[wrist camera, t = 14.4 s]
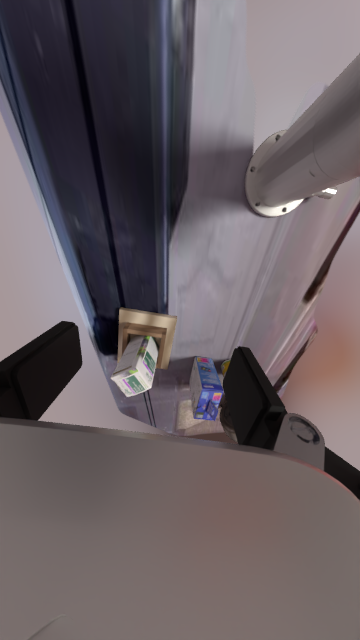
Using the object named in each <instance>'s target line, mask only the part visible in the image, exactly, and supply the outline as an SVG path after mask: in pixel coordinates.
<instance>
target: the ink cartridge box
mask: <svg viewBox="0 0 360 640" xmlns="http://www.w3.org/2000/svg"><path fill="white" fill-rule="evenodd" d="M189 383H190V392H191V401H192V409H193V417H194V419H205V420H214V421H215V419H216V416H217V413H218V406H219V403H220V400H221V397H222V394H223V389H222V386H221V383H220V380H219V377H218V374H217V372H216V369H215V366H214V363H213V361H212V359H211V358H204V357H197V356H196V357H195V359H194V363H193V368H192V372H191V376H190V381H189Z"/></svg>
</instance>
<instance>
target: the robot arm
mask: <svg viewBox="0 0 360 640" xmlns="http://www.w3.org/2000/svg"><path fill="white" fill-rule="evenodd" d="M275 139H276V140H275ZM250 170H252V172H251V171H250ZM357 177H360V54H359V55H358V56H357V57H356V58H355V59H354V60H353V61H352V62H351V63H350V64H349V65H348V67H347V68H346V69H345V70H344V71H343V72H342V73H341V74H340V75H339V76H338V77H337V78H336V79H335V80H334V81H333V82H332V83H331V85H330V86H329V87H328V88H327V89H326V90H325V91H324V92H323V93H322V94H321V95H320V96H319V97H318V98H317V99H316V100H315V101H314V103H313V104H312V105H311V106H310V107H309V108H308V109H307V110H306V111H305V112H304V113H303V114H302V115H301V116H300V117H299V118H298V120H297V121H296V122H295V123H294V124H293V125H292V126H291V127H290V128H289V129H288V130H282V131H279V132H277V133H275V134H273V135H271V136H270V137H268V138H267V139H266V140H265V141H264V142H263V143H262V144H261V145H260V147H259V148H258V149H257V150H256V152H255V153H254V155H253V156H252V158H251V160H250V162H249V165H248V168H247V171H246V176H245V193H246V197H247V200H248V202H249V204H250V206H251V207H252V209H253V210H254V211H255V212H257V213H258V214H260V215H262V216H265V217H278V216H282V215H284V214H287V213H289V212H290V211H292V210H293V209H295V208H296V207H297V206H298V205H299V204H300V203H301V202H302V201H303V200H304V199H305V198H306V197H314V196H318V197H320V198H324V199H330V198H332V197H333V196H334V194H335V193H336V191H337V187H336V185H339V184H341V183H344V182H347V181H349V180H352V179H354V178H357ZM255 204H257V206H256V205H255ZM282 210H283V212H282ZM81 366H82V355H81V347H80V339H79V331H78V326H76V325H75V323H73V322H67V321H61V322H60V323H58V324H57V325H55V326H54V327H52V328H51V329H49V330H48V331H46V332H45V333H43V334H42V335H40V336H39V337H37V338H36V339H34V340H32V341H31V342H29V343H28V344H26V345H25V346H23V347H22V348H20V349H19V350H17V351H16V352H14V353H13V354H11V355H10V356H8V357H7V358H5V359H4V360H2V361H1V362H0V640H360V471H359V470H357V469H356V468H355V467H353V466H352V465H350V464H349V463H348V462H346V461H345V460H343V459H342V458H341V457H339V456H338V455H336V454H335V453H334V452H332V451H331V450H329V449H328V448H327V447H325V443H324V438H323V436H322V434H321V432H320V431H319V430H318V429H317V427H316V426H315V425H314V424H312V423H311V422H310V421H309V420H307V419H306V418H304V417H302V416H301V415H298V414H295V413H287V411H286V409H285V406H284V404H283V403H282V401H281V399H280V398H279V396H278V394H277V393H276V391H275V390H274V388H273V386H272V385H271V383H270V381H269V380H268V378H267V376H266V375H265V373H264V371H263V370H262V368H261V367H260V365H259V363H258V362H257V360H256V358H255V357H254V355H253V353H252V352H251V350H250V349H249V348H247V347H240V346H239V347H238V348H235V349H234V352H233V355H232V358H231V360H230V363H229V366H228V369H227V371H226V374H225V377H224V380H223V389H224V393H225V397H226V400H227V404H228V408H229V412H230V415H231V419H232V423H233V426H234V430H235V434H236V438H237V441H238V444H239V445H238V444H230V443H224V442H216V441H208V440H200V439H192V438H183V437H175V436H167V435H159V434H150V433H141V432H132V431H123V430H115V429H107V428H98V427H90V426H80V425H70V424H62V423H53V422H44V421H38V419H40V417H41V416H42V415H43V413H44V412H45V411H46V410H47V409H48V407H49V406H50V405H51V403H52V402H53V401H54V400H55V399H56V398H57V396H58V395H59V394H60V393H61V391H62V390H63V389H64V388H65V386H66V385H67V384H68V383H69V382H70V380H71V379H72V378H73V377H74V375H75V374H76V373H77V372H78V370H79V369H80V368H81Z"/></svg>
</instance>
